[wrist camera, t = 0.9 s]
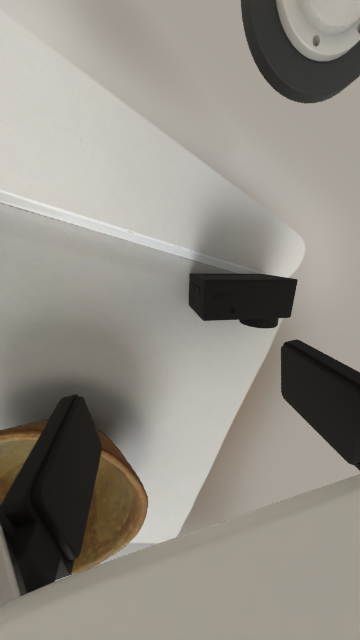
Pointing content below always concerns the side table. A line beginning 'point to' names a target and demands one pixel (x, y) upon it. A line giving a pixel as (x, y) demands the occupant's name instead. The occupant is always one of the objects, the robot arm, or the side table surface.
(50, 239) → the side table surface
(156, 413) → the side table surface
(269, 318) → the digital camera
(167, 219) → the side table surface
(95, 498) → the bowl
